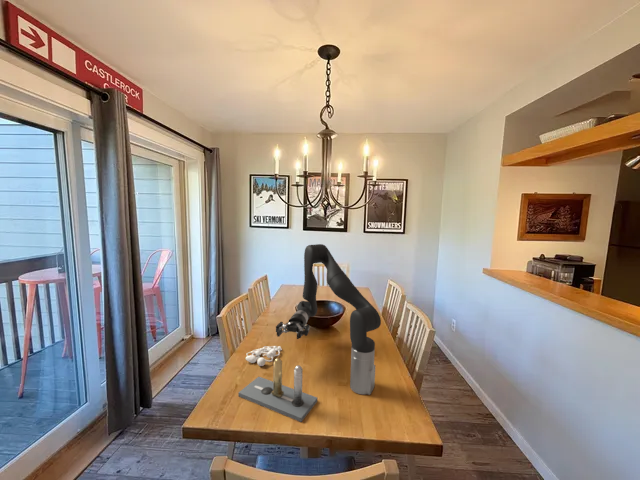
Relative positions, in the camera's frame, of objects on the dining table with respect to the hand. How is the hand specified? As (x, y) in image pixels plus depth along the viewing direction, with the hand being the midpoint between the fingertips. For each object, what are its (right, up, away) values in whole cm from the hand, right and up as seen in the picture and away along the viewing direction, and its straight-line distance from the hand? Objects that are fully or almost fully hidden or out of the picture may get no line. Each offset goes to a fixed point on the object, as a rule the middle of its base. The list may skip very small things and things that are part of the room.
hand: (287, 335), depth 118 cm
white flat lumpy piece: (-14, -17, +20) cm, 30 cm away
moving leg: (-3, -19, -10) cm, 22 cm away
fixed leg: (+5, -20, -14) cm, 25 cm away
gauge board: (-3, -21, -10) cm, 23 cm away
